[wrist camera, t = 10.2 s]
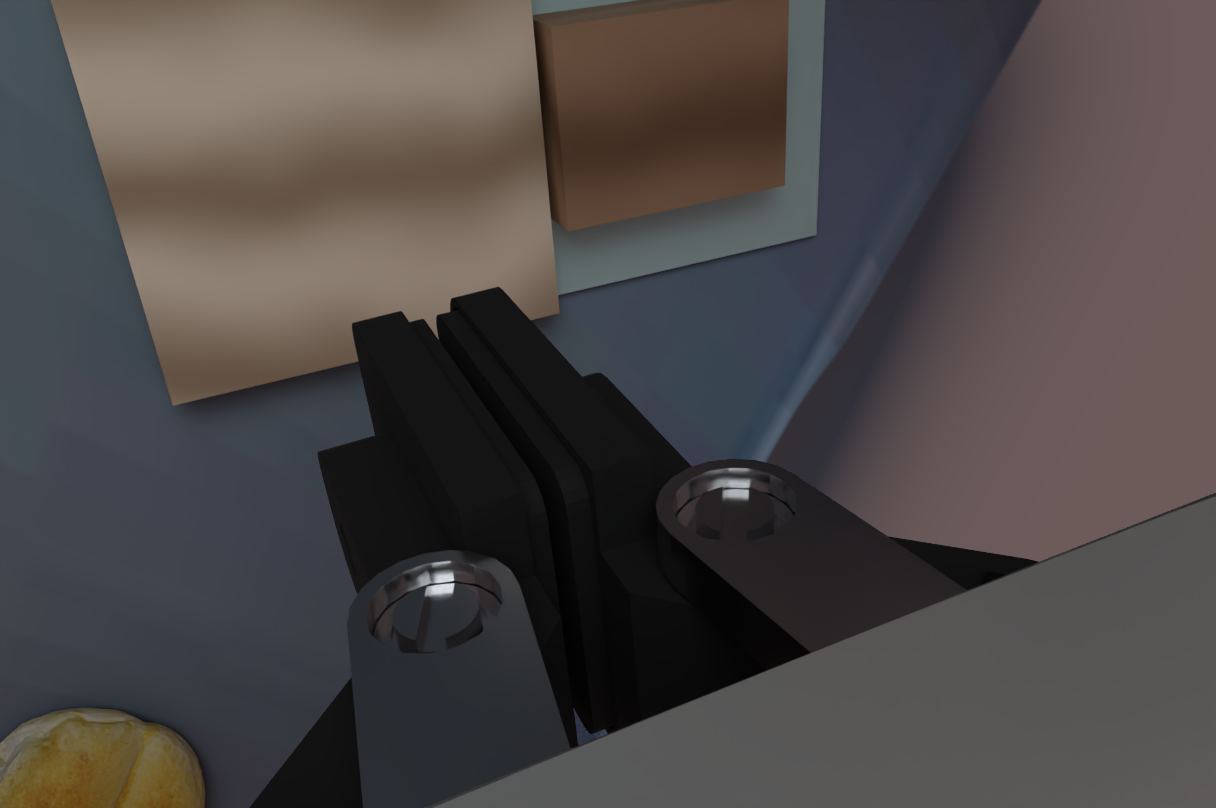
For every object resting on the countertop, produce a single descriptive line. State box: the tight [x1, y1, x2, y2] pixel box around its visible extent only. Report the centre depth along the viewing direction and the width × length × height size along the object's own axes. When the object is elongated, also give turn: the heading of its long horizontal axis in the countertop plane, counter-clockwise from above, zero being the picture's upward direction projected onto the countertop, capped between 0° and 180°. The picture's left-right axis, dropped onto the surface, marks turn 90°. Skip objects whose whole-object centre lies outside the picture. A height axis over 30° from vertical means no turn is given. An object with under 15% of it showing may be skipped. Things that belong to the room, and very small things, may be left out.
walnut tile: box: [532, 0, 789, 231], centre depth 39 cm, size 7×9×2 cm
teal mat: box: [531, 0, 825, 295], centre depth 41 cm, size 14×12×1 cm
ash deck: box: [51, 0, 560, 406], centre depth 36 cm, size 14×14×2 cm
